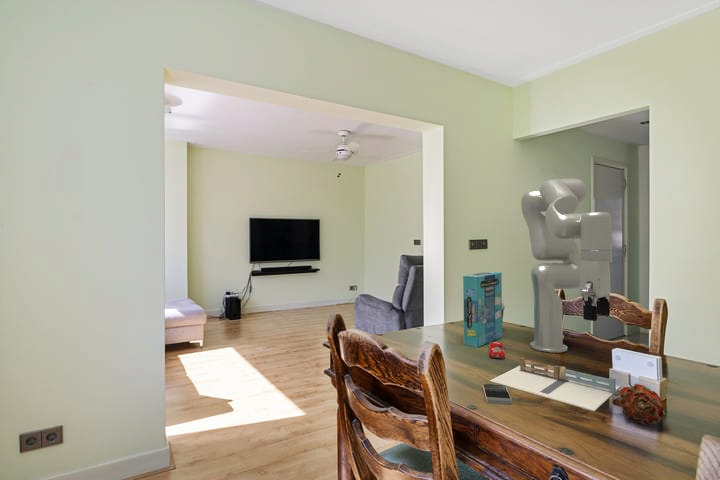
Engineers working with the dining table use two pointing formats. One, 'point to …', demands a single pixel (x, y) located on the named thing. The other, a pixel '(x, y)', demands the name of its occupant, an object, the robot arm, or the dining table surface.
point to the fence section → (545, 366)
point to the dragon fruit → (640, 404)
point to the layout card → (555, 388)
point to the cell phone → (497, 394)
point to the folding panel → (610, 381)
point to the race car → (496, 350)
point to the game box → (482, 308)
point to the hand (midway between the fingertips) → (596, 317)
